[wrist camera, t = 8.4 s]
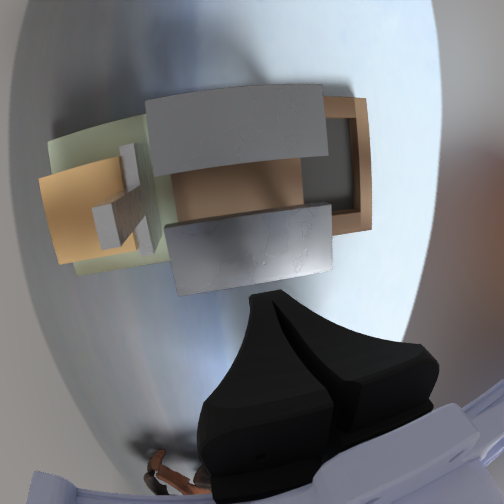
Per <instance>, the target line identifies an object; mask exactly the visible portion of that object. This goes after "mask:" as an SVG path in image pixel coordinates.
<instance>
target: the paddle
mask: <svg viewBox="0 0 504 504" xmlns="http://www.w3.org/2000/svg"><path fill="white" fill-rule="evenodd" d="M119 149H120V156H121V163H122V170H123V176H124V182H125V187H126V188H125V189H123V190H121V191H120V192H118V193H116V194H114V195H113V196H111V197H109V198H107V199H106V200H104V201H102V202H101V203H99V204H97V205H96V206H94V207H92V213H93V217H94V222H95V226H96V230H97V234H98V238H99V242H100V246H101V250H106V249H112V248H117V247H121V246H122V245H123V243H124V242H125V241H126V240H127V238H128V237H129V236H130V234H131V233H132V232H133V230H134V233H135V237H136V241H137V246H138V250H139V254H140V257H143V256H149V255H154V254H155V251H156V249H157V246H158V244H159V242H160V239H161V237H162V230H161V225H160V219H159V214H158V209H157V203H156V197H155V192H154V186H153V180H152V173H151V167H150V160H149V153H148V146H147V144H142V143H132V144H127V145H123V146H119Z"/></svg>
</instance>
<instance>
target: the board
mask: <svg viewBox="0 0 504 504" xmlns="http://www.w3.org/2000/svg"><path fill="white" fill-rule="evenodd" d="M323 100H324V109H325V119H328V118H341V119H349V129H350V141H351V157H352V176H353V209H347V210H338V211H332V236H334V235H340V234H347V233H353V232H360V231H366V230H372V177H371V153H370V137H369V124H368V113H367V103H366V98H353V97H325V96H323ZM132 143H142V144H147V146H148V153H149V160H150V167H151V173H152V180H153V186H154V192H155V197H156V203H157V209H158V214H159V219H160V225H161V230H162V237H161V239H160V242H159V244H158V246H157V249H156V251H155V254H154V255H149V256H143V257H140V254H139V250H138V249H137V251H133V252H127V253H121V254H115V255H110V256H104V257H98V258H93V259H87V260H82V261H76V262H73V265H74V268H75V271H76V274H77V276H80V275H86V274H92V273H98V272H104V271H111V270H117V269H123V268H129V267H136V266H142V265H148V264H154V263H161V262H167V261H170V258H169V253H168V248H167V244H166V239H165V234H164V227H165V224H170V223H176V222H182V221H188V220H195V219H201V218H207V217H214V216H220V215H227V214H234V213H241V212H248V211H255V210H262V209H270V208H277V207H285V206H293V205H301V204H304V201H303V187H302V173H301V161H300V158H288V159H277V160H267V161H258V162H249V163H240V164H232V165H225V166H218V167H211V168H204V169H197V170H191V171H185V172H179V173H173V174H167V175H162V176H157V177H154V172H153V165H152V158H151V151H150V144H149V136H148V128H147V119H146V114H142V115H138V116H133V117H129V118H125V119H121V120H117V121H113V122H109V123H105V124H102V125H98V126H95V127H91V128H88V129H85V130H81V131H78V132H75V133H72V134H69V135H66V136H63V137H60V138H57V139H54V140H51V141H49V142H48V151H49V158H50V165H51V171H52V174H55V173H58V172H62V171H65V170H68V169H72V168H75V167H79V166H82V165H86V164H89V163H93V162H97V161H101V160H105V159H109V158H113V157H117V156H120V149H119V146H123V145H127V144H132Z"/></svg>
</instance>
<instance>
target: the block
mask: <svg viewBox="0 0 504 504" xmlns="http://www.w3.org/2000/svg"><path fill="white" fill-rule="evenodd" d="M39 184H40V190H41V195H42V200H43V205H44V209H45V214H46V218H47V222H48V226H49V230H50V234H51V238H52V241H53V245H54V248H55V252H56V255H57V258H58V262H59V265H60V264H65V263H71V262H76V261H82V260H87V259H93V258H98V257H104V256H110V255H115V254H121V253H127V252H133V251H137V249H138V246H137V241H136V237H135V233H134V230H133V232H132V233H131V234H130V236H129V237H128V238H127V240H126V241H125V242H124V243H123V245H122V246H121V247H117V248H112V249H106V250H101V246H100V242H99V238H98V234H97V230H96V226H95V222H94V217H93V213H92V207H94V206H96V205H97V204H99V203H101V202H102V201H104V200H106V199H107V198H109V197H111V196H113V195H114V194H116V193H118V192H120V191H121V190H123V189H125V188H126V187H125V182H124V176H123V170H122V163H121V156H117V157H113V158H109V159H105V160H101V161H97V162H93V163H89V164H86V165H82V166H79V167H75V168H72V169H68V170H65V171H62V172H58V173H55V174H52V175H49V176H46V177H43V178H40V179H39Z"/></svg>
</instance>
